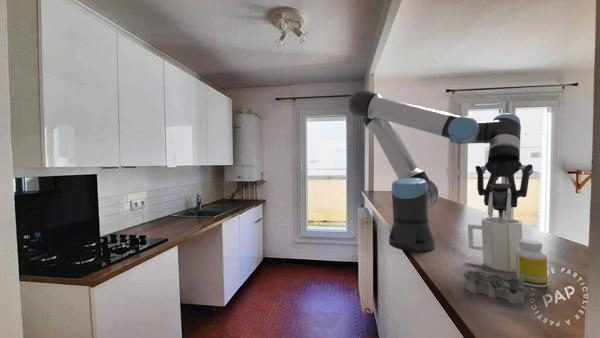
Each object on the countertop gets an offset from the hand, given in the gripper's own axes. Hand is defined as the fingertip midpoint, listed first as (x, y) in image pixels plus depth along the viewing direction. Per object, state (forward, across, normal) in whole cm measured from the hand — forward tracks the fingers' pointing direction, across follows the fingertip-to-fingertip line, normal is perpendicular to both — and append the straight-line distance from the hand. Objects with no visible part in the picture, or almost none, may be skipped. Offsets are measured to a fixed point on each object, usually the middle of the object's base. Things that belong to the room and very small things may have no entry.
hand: (499, 215), depth 66 cm
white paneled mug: (+8, +2, -13) cm, 15 cm away
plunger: (+6, 0, -12) cm, 13 cm away
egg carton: (+21, 0, -1) cm, 21 cm away
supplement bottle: (+13, -6, -8) cm, 17 cm away
